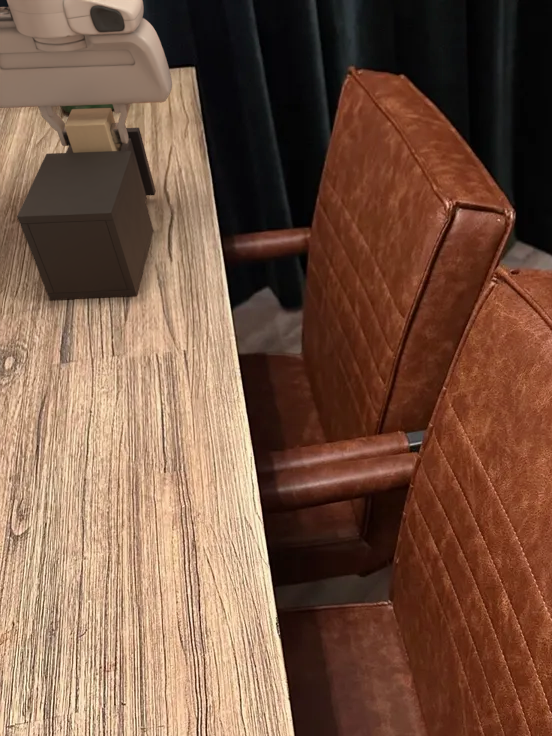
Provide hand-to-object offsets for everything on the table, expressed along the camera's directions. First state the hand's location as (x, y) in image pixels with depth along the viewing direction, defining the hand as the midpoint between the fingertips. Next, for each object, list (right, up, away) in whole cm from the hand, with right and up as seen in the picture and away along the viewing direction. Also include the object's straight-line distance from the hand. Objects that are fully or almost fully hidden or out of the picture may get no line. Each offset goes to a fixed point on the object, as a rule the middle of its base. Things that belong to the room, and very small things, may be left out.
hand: (96, 142), depth 102 cm
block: (0, -1, +1) cm, 2 cm away
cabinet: (+1, -14, 0) cm, 14 cm away
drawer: (0, -5, +6) cm, 8 cm away
